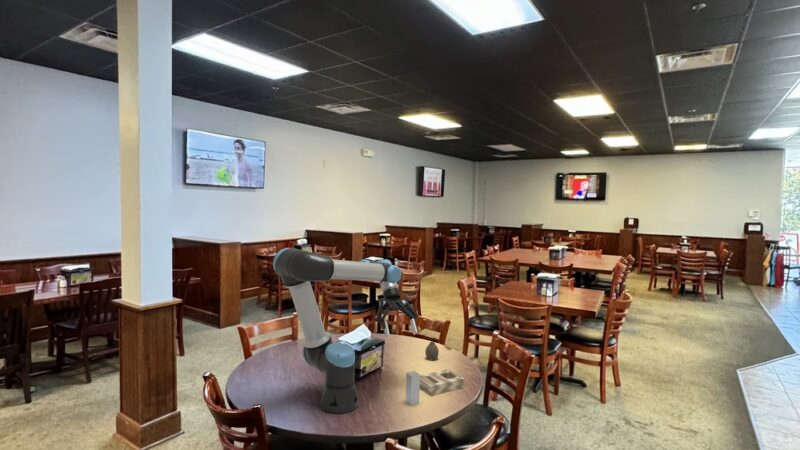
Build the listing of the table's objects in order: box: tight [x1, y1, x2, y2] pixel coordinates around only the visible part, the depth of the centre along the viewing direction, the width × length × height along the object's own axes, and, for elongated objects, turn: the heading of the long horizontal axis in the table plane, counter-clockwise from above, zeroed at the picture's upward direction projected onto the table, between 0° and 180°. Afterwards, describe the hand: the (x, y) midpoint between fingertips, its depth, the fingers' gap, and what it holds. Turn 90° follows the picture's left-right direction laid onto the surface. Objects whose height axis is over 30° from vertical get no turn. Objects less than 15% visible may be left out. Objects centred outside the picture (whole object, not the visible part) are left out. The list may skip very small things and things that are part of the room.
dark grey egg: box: [424, 341, 440, 361], centre depth 223 cm, size 7×7×9 cm
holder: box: [419, 368, 465, 397], centre depth 190 cm, size 18×12×4 cm, turn 121°
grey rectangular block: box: [405, 370, 420, 406], centre depth 174 cm, size 4×4×12 cm
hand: (401, 334), depth 184 cm, fingers open, 13 cm apart
